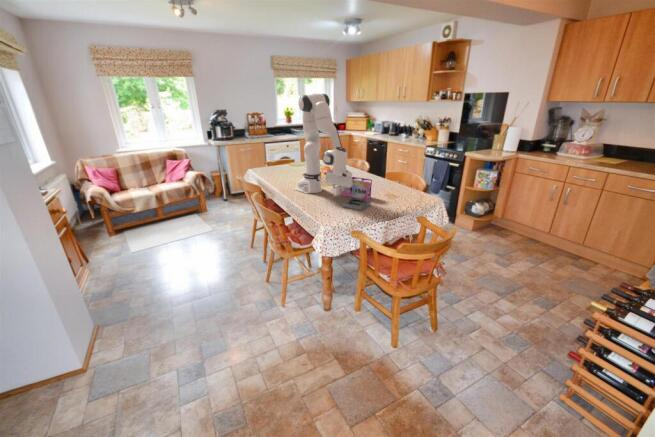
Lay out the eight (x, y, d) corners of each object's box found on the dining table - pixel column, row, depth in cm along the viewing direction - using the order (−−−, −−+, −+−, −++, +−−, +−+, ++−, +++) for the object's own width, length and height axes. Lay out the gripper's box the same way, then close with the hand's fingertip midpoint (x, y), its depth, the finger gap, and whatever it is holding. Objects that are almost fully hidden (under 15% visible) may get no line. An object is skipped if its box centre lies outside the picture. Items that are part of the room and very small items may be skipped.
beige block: (331, 196, 205) (331, 187, 203) (339, 192, 214) (339, 184, 211) (336, 197, 203) (336, 189, 201) (344, 193, 212) (344, 185, 209)
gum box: (372, 197, 220) (373, 179, 214) (368, 200, 213) (369, 182, 208) (344, 192, 231) (344, 175, 226) (339, 195, 225) (339, 177, 219)
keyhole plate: (342, 207, 201) (343, 203, 200) (352, 201, 212) (352, 197, 211) (361, 211, 194) (361, 207, 193) (370, 204, 205) (370, 201, 204)
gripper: (324, 169, 204) (323, 188, 210) (350, 175, 194) (348, 195, 200) (329, 168, 209) (327, 186, 215) (354, 173, 199) (352, 193, 205)
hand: (337, 191), depth 207 cm, fingers closed on beige block, 4 cm apart
